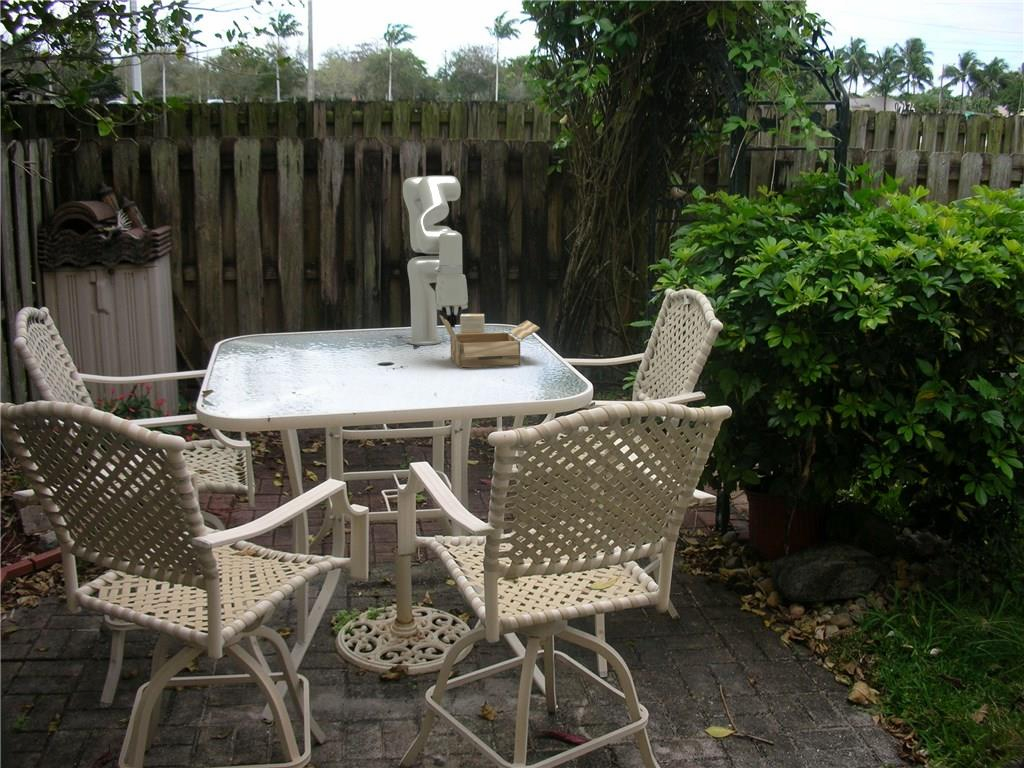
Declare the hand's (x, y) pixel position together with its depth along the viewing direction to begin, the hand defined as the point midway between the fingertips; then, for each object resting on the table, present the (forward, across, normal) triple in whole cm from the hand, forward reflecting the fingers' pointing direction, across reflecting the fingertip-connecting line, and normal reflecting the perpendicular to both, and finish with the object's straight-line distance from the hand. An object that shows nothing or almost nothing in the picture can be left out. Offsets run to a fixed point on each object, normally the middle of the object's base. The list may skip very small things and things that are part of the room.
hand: (451, 326), depth 316 cm
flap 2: (+4, +11, +9) cm, 15 cm away
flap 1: (+4, +1, +1) cm, 4 cm away
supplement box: (+12, +12, +20) cm, 27 cm away
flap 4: (+4, +22, 0) cm, 22 cm away
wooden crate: (+12, +11, 0) cm, 17 cm away
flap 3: (+4, +11, -8) cm, 14 cm away
